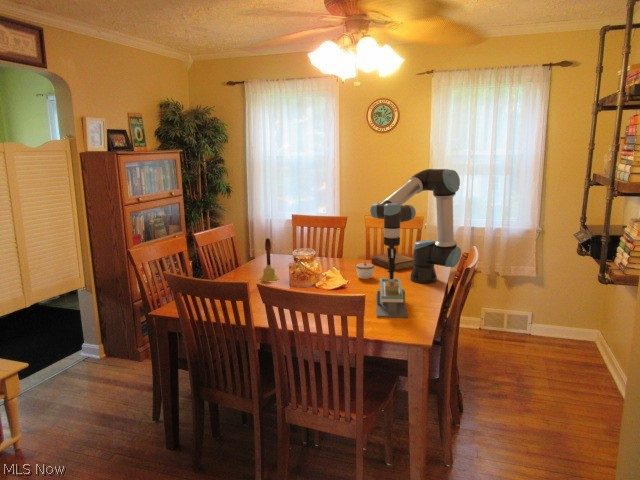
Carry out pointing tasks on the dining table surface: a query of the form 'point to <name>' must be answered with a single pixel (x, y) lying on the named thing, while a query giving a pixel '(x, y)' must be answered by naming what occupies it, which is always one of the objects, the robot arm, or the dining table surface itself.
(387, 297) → the seesaw beam
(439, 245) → the robot arm
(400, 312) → the seesaw stand
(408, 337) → the dining table surface
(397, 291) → the beige square block
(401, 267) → the diary
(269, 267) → the handbell
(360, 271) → the lidded jar
